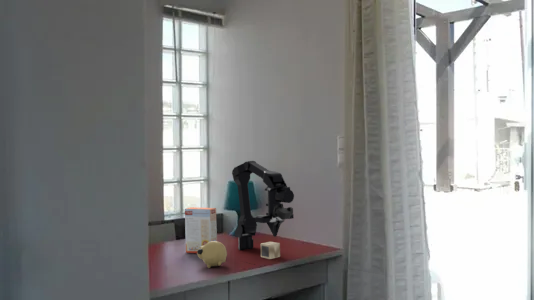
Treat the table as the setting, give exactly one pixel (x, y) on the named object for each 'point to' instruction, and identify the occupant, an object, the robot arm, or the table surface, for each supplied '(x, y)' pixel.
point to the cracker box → (199, 227)
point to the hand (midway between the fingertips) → (275, 236)
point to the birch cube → (270, 250)
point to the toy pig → (212, 253)
